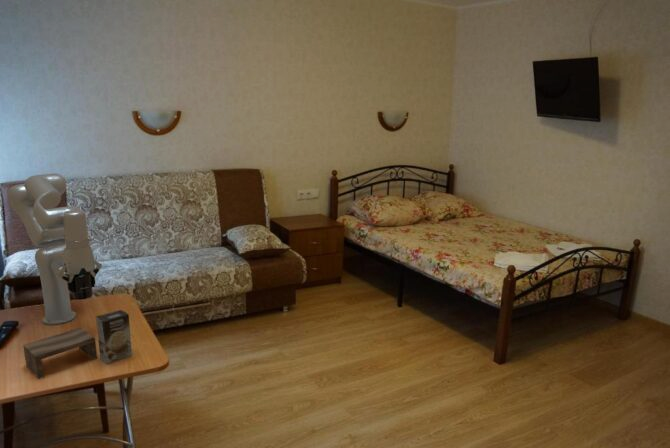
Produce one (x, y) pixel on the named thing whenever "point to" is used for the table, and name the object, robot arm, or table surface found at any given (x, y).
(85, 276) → the supplement bottle
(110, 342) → the coffee box
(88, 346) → the walnut shelf
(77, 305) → the table surface
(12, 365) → the table surface
